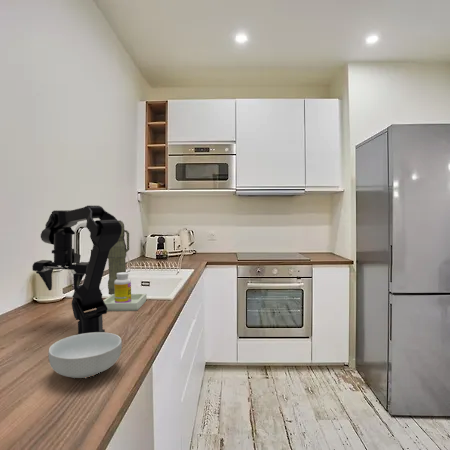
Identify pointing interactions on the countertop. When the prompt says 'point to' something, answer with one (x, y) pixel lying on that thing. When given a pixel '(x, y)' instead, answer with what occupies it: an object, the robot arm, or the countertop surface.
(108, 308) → the tray
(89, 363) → the cereal bowl
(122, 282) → the supplement bottle
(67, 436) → the countertop surface
